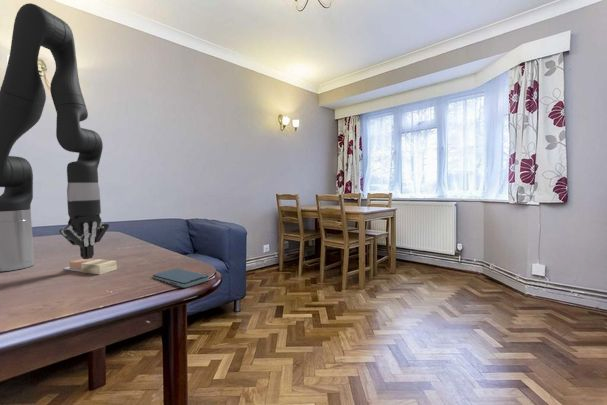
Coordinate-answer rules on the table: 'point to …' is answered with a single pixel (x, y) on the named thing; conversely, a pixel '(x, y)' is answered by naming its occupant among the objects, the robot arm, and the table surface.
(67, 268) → the mat
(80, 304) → the table surface
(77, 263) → the tile
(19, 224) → the robot arm
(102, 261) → the deck
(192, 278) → the smartphone
